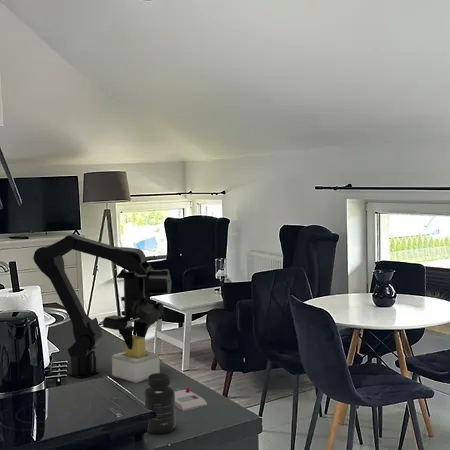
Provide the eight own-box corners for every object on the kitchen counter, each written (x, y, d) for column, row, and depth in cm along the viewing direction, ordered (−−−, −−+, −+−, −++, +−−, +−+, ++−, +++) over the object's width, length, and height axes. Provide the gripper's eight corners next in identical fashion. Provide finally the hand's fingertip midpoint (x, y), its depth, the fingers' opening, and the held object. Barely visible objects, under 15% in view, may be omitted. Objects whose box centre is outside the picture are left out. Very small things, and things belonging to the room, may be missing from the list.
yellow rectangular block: (137, 359, 174) (137, 339, 173) (125, 356, 177) (125, 337, 176) (145, 356, 176) (145, 337, 175) (133, 353, 179) (132, 334, 179)
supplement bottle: (141, 425, 140) (140, 373, 140) (170, 420, 143) (169, 369, 142) (149, 436, 134) (147, 382, 133) (179, 431, 136) (178, 378, 136)
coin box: (136, 382, 170) (135, 361, 170) (112, 375, 176) (111, 355, 176) (159, 374, 177) (159, 354, 176) (136, 368, 183) (135, 348, 183)
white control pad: (187, 415, 147) (187, 403, 147) (158, 396, 160) (157, 385, 160) (211, 409, 151) (211, 397, 150) (180, 391, 164) (180, 380, 164)
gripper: (128, 301, 163) (129, 360, 164) (177, 291, 177) (178, 345, 178) (101, 297, 170) (102, 353, 171) (150, 287, 184) (151, 339, 185)
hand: (135, 347), depth 176 cm, fingers open, 4 cm apart
